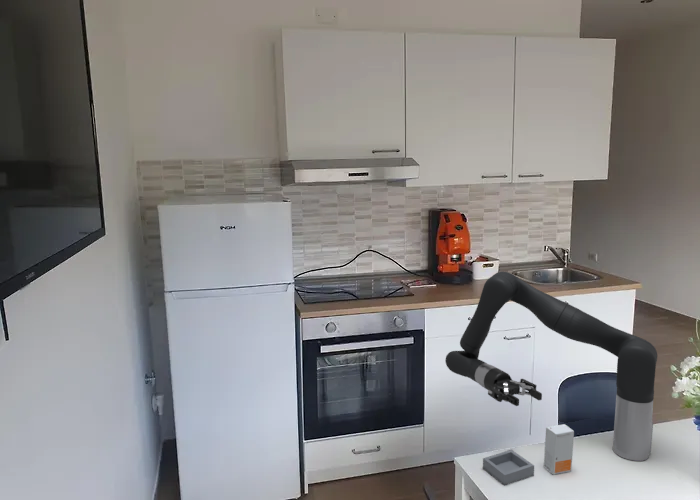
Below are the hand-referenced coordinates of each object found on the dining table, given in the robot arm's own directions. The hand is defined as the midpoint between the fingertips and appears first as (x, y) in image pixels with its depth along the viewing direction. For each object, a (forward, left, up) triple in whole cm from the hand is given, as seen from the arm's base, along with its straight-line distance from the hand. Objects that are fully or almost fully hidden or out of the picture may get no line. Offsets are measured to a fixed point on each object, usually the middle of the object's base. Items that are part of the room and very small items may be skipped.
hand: (529, 400), depth 151 cm
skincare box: (0, +11, -16) cm, 19 cm away
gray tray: (+13, +6, -15) cm, 21 cm away
